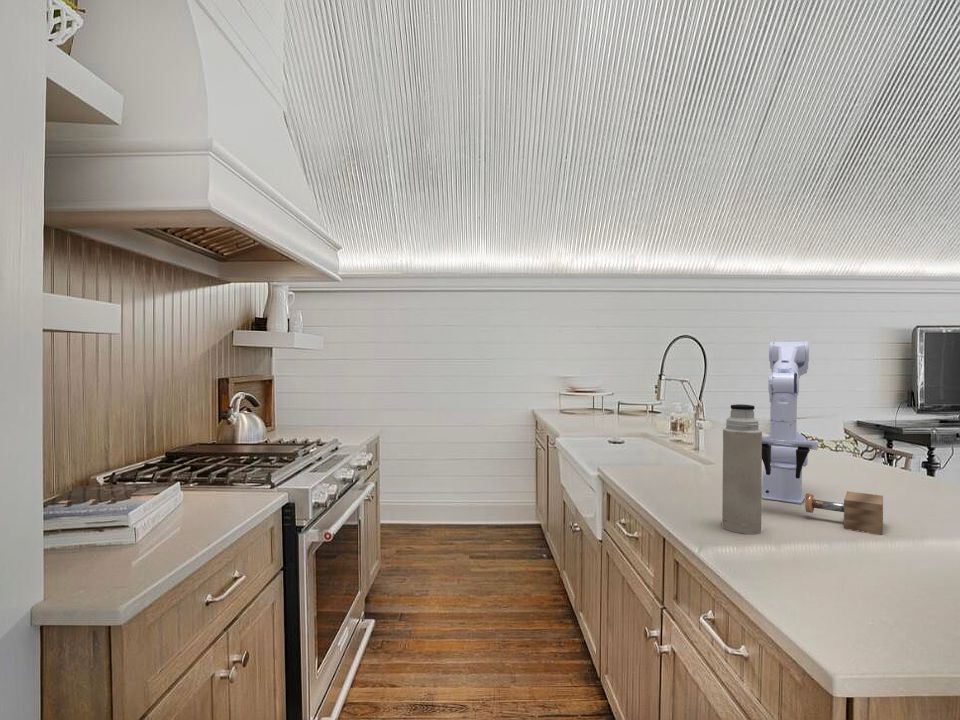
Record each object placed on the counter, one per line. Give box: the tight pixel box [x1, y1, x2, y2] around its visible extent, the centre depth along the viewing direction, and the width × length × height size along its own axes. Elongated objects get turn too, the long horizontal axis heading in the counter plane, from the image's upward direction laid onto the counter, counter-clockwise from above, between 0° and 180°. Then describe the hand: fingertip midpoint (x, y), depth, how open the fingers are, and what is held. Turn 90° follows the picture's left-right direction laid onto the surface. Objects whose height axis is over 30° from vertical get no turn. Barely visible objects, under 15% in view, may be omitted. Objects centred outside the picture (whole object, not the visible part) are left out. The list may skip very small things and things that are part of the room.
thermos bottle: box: [721, 403, 763, 535], centre depth 125 cm, size 8×8×28 cm
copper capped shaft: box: [804, 493, 844, 514], centre depth 131 cm, size 11×4×4 cm, turn 53°
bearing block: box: [843, 490, 884, 535], centre depth 128 cm, size 7×10×7 cm
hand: (782, 476), depth 137 cm, fingers open, 6 cm apart
